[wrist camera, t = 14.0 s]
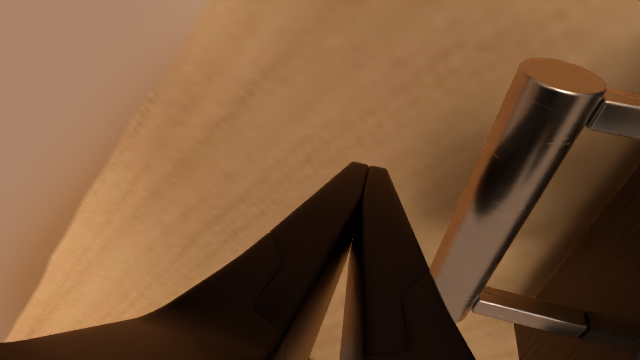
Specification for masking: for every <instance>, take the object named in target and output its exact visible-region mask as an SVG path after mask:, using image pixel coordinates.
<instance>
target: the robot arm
mask: <svg viewBox="0 0 640 360" xmlns="http://www.w3.org/2000/svg"><path fill="white" fill-rule="evenodd" d="M352 239H353V240H352ZM351 243H352V245H351ZM350 247H351V250H350ZM349 251H350V257H349V266H348V276H347V287H346V298H345V308H344V319H343V329H342V340H341V350H340V360H476V359H475V357H474V356H473V354H472V352H471V350H470V349H469V347H468V345H467V343H466V342H465V340H464V338H463V336H462V335H461V333H460V331H459V329H458V328H457V326H456V324H455V322H454V320H453V318H452V317H451V315H450V313H449V311H448V309H447V307H446V305H445V303H444V301H443V299H442V296H441V294H440V292H439V290H438V288H437V286H436V283H435V281H434V278H433V276H432V274H431V273H430V269H429V267H428V265H427V262H426V260H425V258H424V255H423V253H422V251H421V248H420V246H419V244H418V241H417V239H416V237H415V234H414V232H413V230H412V227H411V225H410V223H409V220H408V218H407V215H406V213H405V211H404V208H403V206H402V204H401V201H400V199H399V197H398V194H397V192H396V190H395V187H394V185H393V183H392V180H391V178H390V176H389V173H388V171H387V170H386V169H385V168H381V167H376V166H370V167H369V166H368V165H367V164H363V163H358V162H351V163H350V164H349V165H348V166H346V167H345V168H344V169H343V170H342V171H341V172H339V173H338V174H337V175H336V176H335V177H333V178H332V179H331V180H330V181H329V182H328V183H326V184H325V185H324V186H323V187H322V188H320V189H319V190H318V191H317V192H316V193H315V194H313V195H312V196H311V197H310V198H309V199H308V200H306V201H305V202H304V203H303V204H302V205H300V206H299V207H298V208H297V209H296V210H295V211H293V212H292V213H291V214H290V215H289V216H287V217H286V218H285V219H284V220H283V221H282V222H280V223H279V224H278V225H277V226H276V227H274V228H273V229H272V230H271V231H270V233H267V234H266V235H265V236H264V237H262V238H261V239H260V240H259V241H258V242H257V243H255V244H254V245H253V246H252V247H250V248H249V249H248V250H246V251H245V252H244V253H243V254H241V255H240V256H239V257H237V258H236V259H234V260H233V261H231V262H230V263H229V264H227V265H226V266H224V267H223V268H221V269H220V270H218V271H217V272H215V273H214V274H212V275H211V276H209V277H208V278H206V279H205V280H203V281H202V282H200V283H199V284H197V285H196V286H194V287H192V288H191V289H189V290H188V291H186V292H185V293H183V294H182V295H180V296H179V297H177V298H176V299H174V300H173V301H171V302H170V303H168V304H166V305H165V306H163V307H161V308H159V309H157V310H155V311H153V312H151V313H148V314H146V315H143V316H141V317H138V318H134V319H129V320H124V321H119V322H114V323H109V324H104V325H99V326H94V327H89V328H84V329H79V330H74V331H69V332H64V333H59V334H54V335H49V336H44V337H38V338H33V339H28V340H22V341H15V342H7V343H0V360H308V359H309V356H310V354H311V351H312V348H313V346H314V343H315V341H316V338H317V335H318V333H319V330H320V327H321V325H322V322H323V320H324V317H325V314H326V312H327V309H328V307H329V304H330V301H331V299H332V296H333V293H334V291H335V288H336V286H337V283H338V280H339V278H340V275H341V273H342V270H343V267H344V265H345V262H346V259H347V257H348V254H349Z"/></svg>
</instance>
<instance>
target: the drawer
mask: <svg viewBox="0 0 640 360" xmlns="http://www.w3.org/2000/svg"><path fill="white" fill-rule="evenodd" d="M606 87H607V86H606V84H605V82H604V81H603V80H602V79H601V78H600V77H598V76H597V75H596V74H594V73H592V72H591V71H589V70H587V69H584V68H582V67H580V66H577V65H574V64H571V63H568V62H564V61H560V60H555V59H547V58H531V59H527V60H524V61H523V62H522V63H521V64H520V65H519V67H518V69H517V71H516V74H515V76H514V78H513V81H512V83H511V85H510V87H509V90H508V92H507V94H506V96H505V99H504V101H503V103H502V105H501V108H500V110H499V112H498V115H497V117H496V119H495V121H494V124H493V126H492V128H491V130H490V133H489V135H488V137H487V139H486V142H485V144H484V146H483V149H482V151H481V153H480V155H479V158H478V160H477V162H476V164H475V167H474V169H473V171H472V173H471V176H470V178H469V180H468V183H467V185H466V187H465V189H464V192H463V194H462V196H461V198H460V201H459V203H458V205H457V207H456V210H455V212H454V214H453V217H452V219H451V221H450V223H449V226H448V228H447V230H446V232H445V235H444V237H443V239H442V241H441V244H440V246H439V248H438V251H437V253H436V255H435V257H434V260H433V262H432V264H431V266H430V273H431V274H432V276H433V278H434V281H435V283H436V286H437V288H438V290H439V292H440V294H441V296H442V299H443V301H444V303H445V305H446V307H447V309H448V311H449V313H450V315H451V317H452V318H453V320H454V322H455V323H457V322H460V321H462V320H463V319H464V318H465V317H466V316H467V314H468V313H469V311H470V309H471V308H472V312H473V313H476V314H480V315H484V316H488V317H492V318H496V319H500V320H504V321H508V322H512V323H514V329H515V335H516V342H517V348H518V355H519V360H640V165H639V166H638V167H637V168H636V170H635V171H634V172H633V173H632V175H631V176H630V177H629V179H628V180H627V181H626V182H625V184H624V185H623V186H622V187H621V189H620V190H619V191H618V192H617V194H616V195H615V196H614V198H613V199H612V200H611V201H610V203H609V204H608V205H607V206H606V208H605V209H604V210H603V211H602V213H601V214H600V215H599V217H598V218H597V219H596V220H595V222H594V223H593V224H592V225H591V227H590V228H589V229H588V230H587V232H586V233H585V234H584V236H583V237H582V238H581V239H580V241H579V242H578V243H577V244H576V246H575V247H574V248H573V249H572V251H571V252H570V253H569V255H568V256H567V257H566V258H565V260H564V261H563V262H562V263H561V265H560V266H559V267H558V268H557V270H556V271H555V272H554V274H553V275H552V276H551V277H550V279H549V280H548V281H547V282H546V284H545V285H544V286H543V287H542V289H541V290H540V291H539V293H538V294H537V295H536V296H535V298H532V297H528V296H524V295H520V294H516V293H512V292H508V291H504V290H500V289H495V288H491V287H487V286H485V285H486V284H487V282H488V280H489V279H490V277H491V276H492V274H493V272H494V271H495V269H496V268H497V266H498V264H499V263H500V261H501V260H502V258H503V256H504V255H505V253H506V251H507V250H508V248H509V247H510V245H511V243H512V242H513V240H514V239H515V237H516V235H517V234H518V232H519V231H520V229H521V227H522V226H523V224H524V223H525V221H526V219H527V218H528V216H529V214H530V213H531V211H532V210H533V208H534V206H535V205H536V203H537V202H538V200H539V198H540V197H541V195H542V194H543V192H544V190H545V189H546V187H547V186H548V184H549V182H550V181H551V179H552V177H553V176H554V174H555V173H556V171H557V169H558V168H559V166H560V165H561V163H562V161H563V160H564V158H565V157H566V155H567V153H568V152H569V150H570V149H571V147H572V145H573V144H574V142H575V140H576V139H577V137H578V136H579V134H580V132H581V131H582V129H583V128H584V126H585V125H586V127H587V128H588V129H589V130H594V131H599V132H604V133H609V134H615V135H620V136H625V137H630V138H636V139H640V94H636V93H631V92H625V91H619V90H614V89H608V88H606Z"/></svg>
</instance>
